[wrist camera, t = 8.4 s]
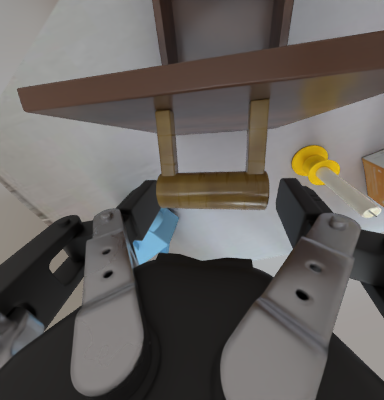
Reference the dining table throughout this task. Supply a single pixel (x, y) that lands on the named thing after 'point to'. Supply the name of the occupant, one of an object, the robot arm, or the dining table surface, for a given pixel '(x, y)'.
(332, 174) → the candle
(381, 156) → the small box
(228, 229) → the dining table surface
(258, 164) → the lid
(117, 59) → the dining table surface
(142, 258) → the teapot
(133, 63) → the dining table surface
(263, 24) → the chest
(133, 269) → the robot arm
